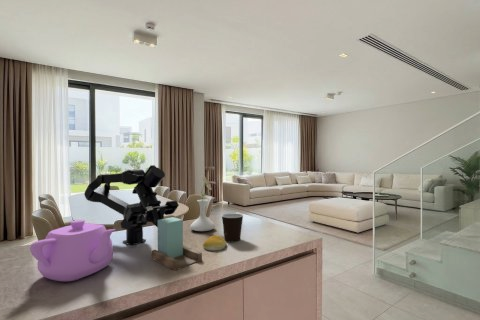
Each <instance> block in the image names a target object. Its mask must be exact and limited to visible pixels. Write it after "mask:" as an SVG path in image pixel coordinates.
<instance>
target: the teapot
mask: <svg viewBox="0 0 480 320" xmlns="http://www.w3.org/2000/svg"><path fill="white" fill-rule="evenodd" d="M69 224H70V225H67V226H62V227H59V228H56V229H53V230H50V231H49V232H48V233H47V234H46V237H45V239H40V240H36V241H34V242H32V243H31V245H30V247H29V251H30V253H31V255H32V257H33V258H34V259H35V260H37V270H38V272H39V273H40V274H41V276H43V277H44V278H46V279H49V280H52V281H56V282H57V281H58V282H75V281H78V280H80V279H82V278H85V277H88V276H91V275H92V274H95V273H97V272H99V271H101V270H102V269H105V267H107V266H109V264H110V262H112V260H113V258H114V245H113V242H112V238H111V235H112V234H113V233H114V232H115V231H116V228H112V229H107V228H106V226H105V225H104V224H99V223H92V222H86V220H84V219H75V220H72V221H70V223H69Z"/></svg>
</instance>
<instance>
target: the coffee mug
mask: <svg viewBox="0 0 480 320" xmlns="http://www.w3.org/2000/svg"><path fill="white" fill-rule="evenodd" d="M243 218H244V214H241V213H236V212H235V213H233V212H229V213H224V214H222V215H221V221H222V228H223V229H222V231H223V238H224V239H225V241H226V243H238V242H240V241H241V236H242V235H241V234H242V226H243Z"/></svg>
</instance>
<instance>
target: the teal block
mask: <svg viewBox="0 0 480 320" xmlns="http://www.w3.org/2000/svg"><path fill="white" fill-rule="evenodd" d="M183 246H184V219H182V218H179V217H174V216H172V217H166V218H165V217H164V219H160V220H158V228H157V251H159V252H161V253H163V254H166V255H168V256H170V257H172V258H175V257H178V256H181V255H183Z"/></svg>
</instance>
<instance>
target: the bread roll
mask: <svg viewBox="0 0 480 320" xmlns="http://www.w3.org/2000/svg"><path fill="white" fill-rule="evenodd" d="M226 246H227V242H226V241H225V239H224V236H223V237H222V236H221V235H217V234H216V235H215V234H214V235H211V236H209V237H208V238H207V239H206V240H205V241H204V242H203V244H202V248H203V249H205V250H206V251H210V252H211V251H213V252H214V251H220V250H223V249H225V248H226Z"/></svg>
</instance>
